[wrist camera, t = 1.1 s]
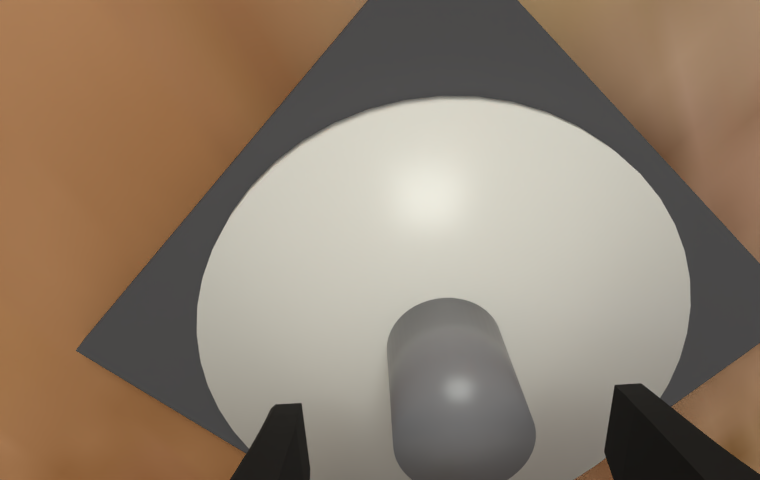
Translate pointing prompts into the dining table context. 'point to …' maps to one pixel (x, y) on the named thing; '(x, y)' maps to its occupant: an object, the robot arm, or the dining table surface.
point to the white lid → (444, 294)
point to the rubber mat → (403, 82)
